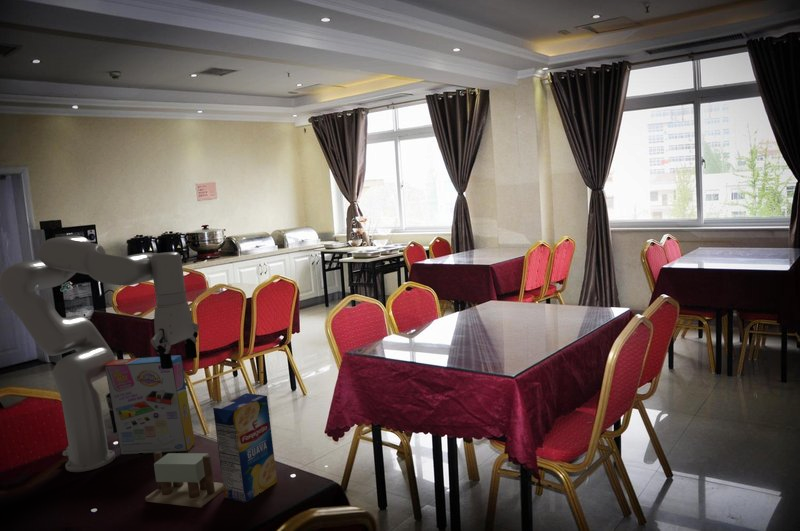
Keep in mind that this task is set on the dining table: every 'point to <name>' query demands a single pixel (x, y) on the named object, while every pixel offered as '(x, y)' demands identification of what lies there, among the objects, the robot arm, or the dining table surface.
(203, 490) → the rack
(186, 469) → the pale green rectangular block
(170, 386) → the game box
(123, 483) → the dining table surface
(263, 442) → the beverage box
